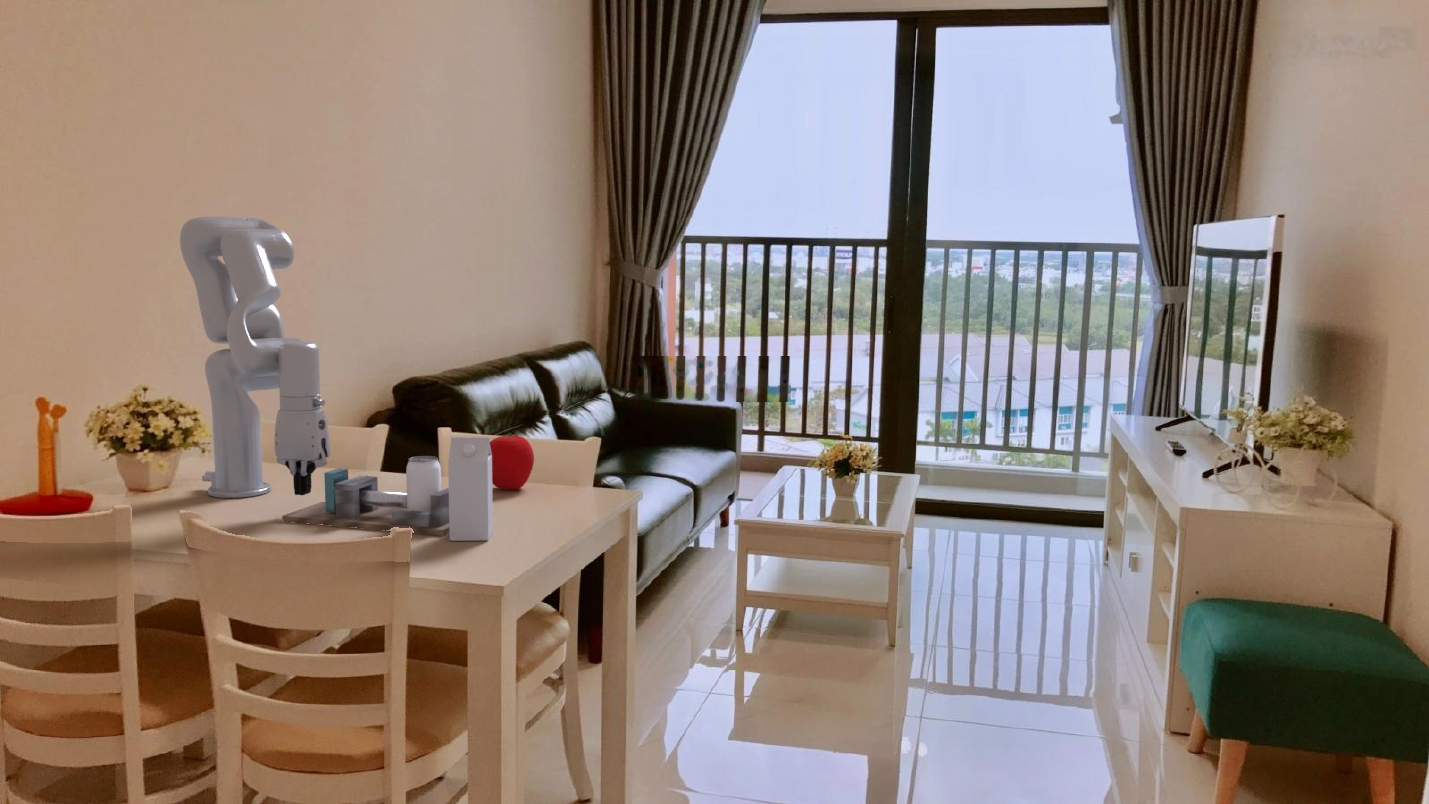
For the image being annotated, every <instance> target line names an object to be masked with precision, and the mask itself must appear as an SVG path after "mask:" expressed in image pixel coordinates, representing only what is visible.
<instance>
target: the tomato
mask: <svg viewBox="0 0 1429 804" xmlns="http://www.w3.org/2000/svg"><path fill="white" fill-rule="evenodd" d="M490 447H491V452H492V486H494V487H496V488H498V489H499V490H504V491H516V490H517V491H518V490H519V489H521V488H523V487H524V485H525V484H526V483H527V482H528V480H529V478H530V476H531V474H532V471H533V468H534V464H535V463H534V462H535V455H534V450H533V448H532V446H531V443H530V442H529V441H528V439H526V438H525V437H523V436H521V435H518V434H512V432H510V433H509V434H507V433H506V434H505V435H501V436H497V437H495V438H493V439H492V440H490Z"/></svg>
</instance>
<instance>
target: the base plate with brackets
mask: <svg viewBox="0 0 1429 804" xmlns="http://www.w3.org/2000/svg"><path fill="white" fill-rule="evenodd" d="M378 485H379V484H378V476H372V475H357V476H354V477H351V478H348V480H345V481H342V482H339V483H336V484H335V504H336V512H335V513H331V512H326V506H325V501H321V502H317V503H315V504H312V505H309V506H306V507H303V508H301V509H298V510H294V511H292V512H290V513H287V514H284V515H282V516H281V517H282V518H281V519H282V521H284V522H283V523H289V522H295V523H294V524H300V523H309V524H308V525H312V524H323V525H331V526H330V527H334V526H341V527H340V528H345V527H357V528H364V529H363V530H368V529H370V531H371V530H372V531H379V530H385V531H384V532H387V531H386V530H390V529H391V528H393V527H399V528H409V527H410V528H412V529H413V531H414V534H415V535H425V536H426V535H427V536H435V535H437V537H445V536H447V535H450V531H449V487H447V488H445V489H441V491H440V492H437V493H435V494H432V495H431V512H419V511H407V509H403V508H391V507H379V506H367V505H359V490H370V491H379V490H378V489H379V488H378ZM323 525H322V526H323ZM357 528H356V529H357Z"/></svg>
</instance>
